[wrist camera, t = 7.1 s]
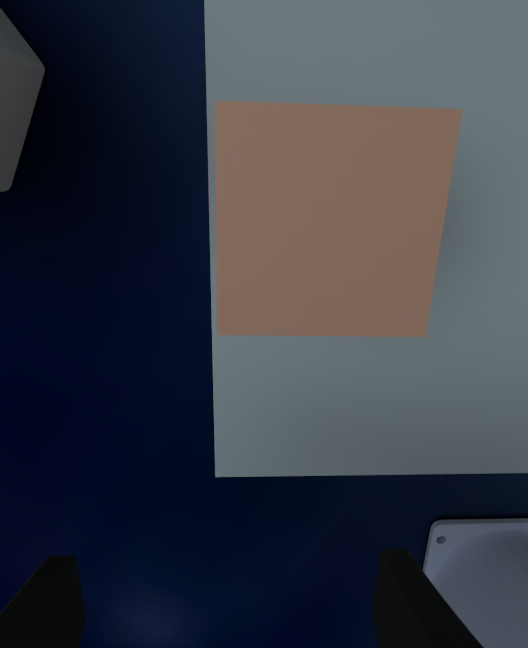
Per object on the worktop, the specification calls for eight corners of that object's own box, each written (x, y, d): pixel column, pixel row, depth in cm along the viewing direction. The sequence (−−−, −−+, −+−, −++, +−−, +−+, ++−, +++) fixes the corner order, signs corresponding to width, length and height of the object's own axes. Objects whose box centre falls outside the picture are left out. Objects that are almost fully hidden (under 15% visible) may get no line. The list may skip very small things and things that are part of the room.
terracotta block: (367, 276, 15) (425, 336, 10) (225, 274, 15) (216, 334, 10) (384, 121, 13) (462, 109, 8) (224, 116, 13) (214, 100, 8)
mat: (537, 467, 23) (542, 472, 23) (216, 471, 23) (215, 477, 22) (668, -9, 16) (679, -13, 16) (204, -26, 15) (203, -30, 15)
